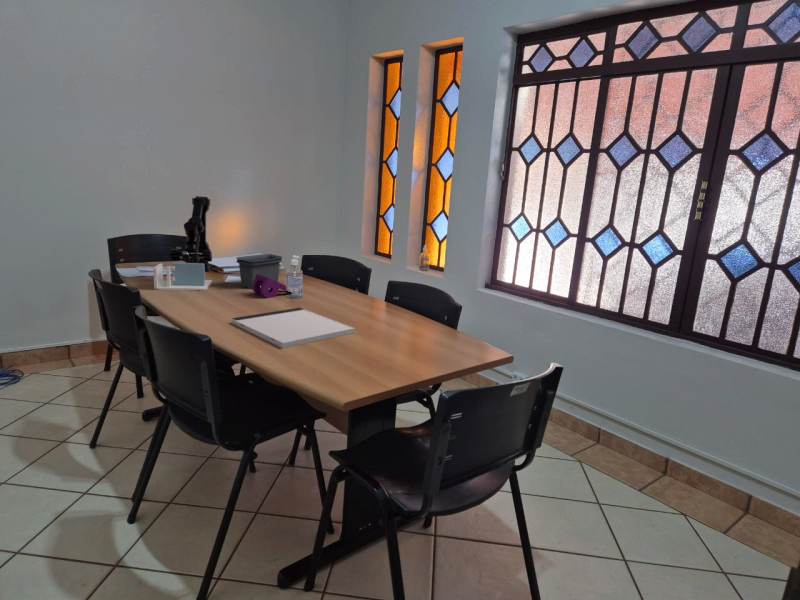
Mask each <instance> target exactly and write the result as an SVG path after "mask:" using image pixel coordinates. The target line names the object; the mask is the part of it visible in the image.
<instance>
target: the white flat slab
mask: <svg viewBox="0 0 800 600" xmlns="http://www.w3.org/2000/svg"><path fill="white" fill-rule="evenodd" d="M230 323H231V324H232V325H234V324H235V326H236V325H237V327H239V328H241V329H243V330H245V331H247V332H249V333H251V334H253V335H255V336H257V337H259V338H260V339H263V340H265V341H266V342H267V341H268V342H269V343H271V344H273V345H275V346H277V347H279V348H281V349H285V348H290V347H296V346H301V345H303V344H304V345H305V344H309V343H314V342H318V341H323V340H328V339H333V338H337V337H341V336H342V337H343V336H345V335H350V334H351V335H352V334H355V333H356V332H355V327H352V326H350V325H347V324H345V323H341V322H339V321H336V320H334V319H331V318H328V317H325V316H323V315H320V314H318V313H315V312H312V311H310V310H307V309H304V308H302V307H296V308H289V309H282V310H276V311H269V312H262V313H257V314H250V315H244V316H238V317H233V318H231V322H230Z"/></svg>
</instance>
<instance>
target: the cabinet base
mask: <svg viewBox="0 0 800 600" xmlns="http://www.w3.org/2000/svg"><path fill="white" fill-rule="evenodd" d="M152 268H153V288H154V289H156V290H155V291H189V290H206V289H207V290H208V288H209V287H210V285H211V284H212V283H213V282H212V280H211V279H205V285H172V277H171V265H167V266H166V278H164V268H163V263H162V262H160V263H159V264H157V265H156V266H154V267H152ZM208 286H209V287H208ZM157 289H158V290H157ZM207 290H206V291H207Z"/></svg>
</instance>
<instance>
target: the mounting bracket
mask: <svg viewBox="0 0 800 600" xmlns="http://www.w3.org/2000/svg"><path fill="white" fill-rule="evenodd" d="M260 286H261V287H260ZM286 286H287V285H286V284H283V283H281V282H279V281H278V282H277V281H274V280H272V279H270V278H267V277H264V276H261V275H258V274H256V277H255V279H254V281H253V284H252V289H251V290H252V291H253V292H254V293H255V294H256V295H260V296H262V297H264V298H266V299H271V298H274V297H275V296H277V294H278V292H279V290H282V291H284V292H287V291H286Z"/></svg>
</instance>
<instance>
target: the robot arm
mask: <svg viewBox="0 0 800 600" xmlns="http://www.w3.org/2000/svg"><path fill="white" fill-rule="evenodd" d="M191 202H192V203H191V204H192V206H193V207H192V211H191V212H192V213H191V217H190V218H188V220H187V221H186V222H185V223H184V224H183V229H184V233H185V236H186V241H185V247H184V250H185V251H182V252H180V250H179V249H173V248H171V249H170V250H169V251H168V255H169V259H170V261H180V260H181V258H182V262H183V263H203V264H204V266H205V272H210V268H209V262H212V260H213V252H212V250H211V248H210V245H209V243H208V242H207V213H208V211H209V210H210V206H211V199H210V198H209V197H208V196H197V195H196V196H195V197H192V201H191Z"/></svg>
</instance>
